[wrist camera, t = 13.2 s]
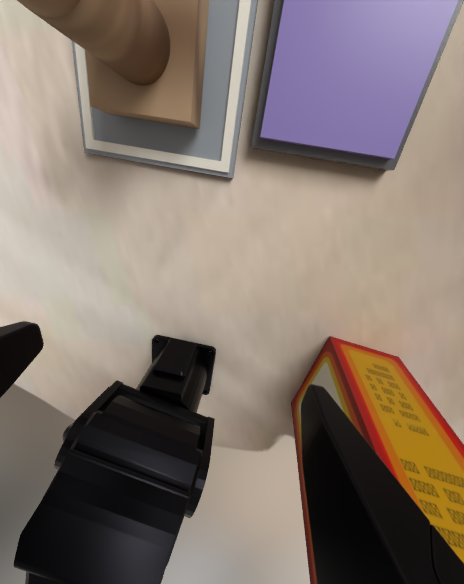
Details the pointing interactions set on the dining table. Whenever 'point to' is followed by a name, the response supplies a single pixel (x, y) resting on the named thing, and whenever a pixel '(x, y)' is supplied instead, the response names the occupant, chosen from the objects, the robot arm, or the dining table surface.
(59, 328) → the dining table surface
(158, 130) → the print card
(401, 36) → the ink pad
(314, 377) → the baking soda box
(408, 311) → the dining table surface
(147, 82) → the stamp
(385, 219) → the dining table surface
